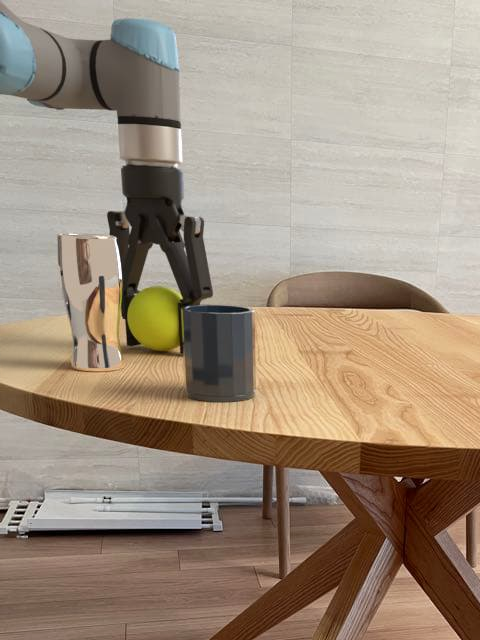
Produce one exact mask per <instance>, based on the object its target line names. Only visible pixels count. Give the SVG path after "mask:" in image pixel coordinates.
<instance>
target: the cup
mask: <svg viewBox="0 0 480 640" xmlns="http://www.w3.org/2000/svg"><path fill="white" fill-rule="evenodd" d="M181 318H182V339H183V354H182V357H183V377H184V380H183V381H184V389H185V395H186V397H187V398H190V399H193V400H196V401H202V402H212V403H213V402H214V403H232V402H243V401H245V400H246V401H247V400H250V399H253V398H255V397H256V390H257V366H256V365H257V364H256V362H257V361H256V360H257V359H256V357H257V356H256V310H255V309H254V308H251V307H247V306H240V305H233V304H232V305H228V304H200V305H191V306H185V307H182V308H181Z"/></svg>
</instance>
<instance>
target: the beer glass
mask: <svg viewBox="0 0 480 640" xmlns="http://www.w3.org/2000/svg"><path fill="white" fill-rule="evenodd" d="M56 261H57V262H56V265H57V276H58V284H59V288H60V293H61V298H62V300H63V304H64V308H65V312H66V315H67V319H68V322H69V326H70V333H71V340H72V350H71V359H70V360H71V361H70V366H71V368H72V369H73V370H77V371H82V372H113V371H118V370H123V369H124V368H125V367H126V365H125V360H124V359H125V358H124V356H123V355H124V354H123V351H122V347H121V341H120V320H121V301H122V270H121V261H120V254H119V248H118V241H117V236H111V235H109V234H98V233H97V234H96V233H64V232H63V233H56Z"/></svg>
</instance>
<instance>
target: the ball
mask: <svg viewBox="0 0 480 640" xmlns="http://www.w3.org/2000/svg"><path fill="white" fill-rule="evenodd" d="M139 291H140V292H139V293H138V294H134V295H135V296H134V298H133V299H132V301H131V302H130V305H129V308H128V313H127V320H128V325H129V328H130V330H131V332H132V334H133V336H134V337H135V338H136V339H137V340H138V341H139V342H140V343H141V346H144V347H146V348H148V349H149V350H153V351H157V352H168V351H173V350H175V349H177V348H180V339H179V318H178V303H180V300H181V299H183V298H182V296H181V293H180V292H178V291H176V290H174V289H173V288H169V287H167V286H161V285H154V286H149V287H146V288H143V289H142V290H139Z"/></svg>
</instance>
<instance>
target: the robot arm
mask: <svg viewBox="0 0 480 640" xmlns="http://www.w3.org/2000/svg"><path fill="white" fill-rule="evenodd" d="M177 44H178V43H177V37H176V34H175V31H173V29H172V28H171V27H170V26H169V25H168V24H165V23H162V22H160V21H156V20H150V19H144V18H135V17H133V18H132V17H130V18H129V17H127V18H125V17H124V18H118V19H114V21H113V22H112V23H111V28H110V38H109V39H104V40H103V39H97V40H96V39H79V38H69V37H65V36H63V35H60V34H57V33H55V32H52V31H49V30H46V29H44V28H42V27H38V26H36V25H33V24H31V23H28V22H26V21H24V20H22V19H21V18H19V17H18V16H17V15H16V14H15V13H14V12H13V11H12V10H11V9H10V8H9V7H8V6H7V5H6V4H5V3H4V2H3V1H2V0H0V95H3V96H4V95H5V96H11V97H17V98H22V99H26V100H27V102H28V103H29V104H31V105H34V106H35V107H41V108H47V109H53V110H58V111H62V110H65V109H68V110H100V111H101V110H102V111H103V110H104V111H111V112H112V111H115V112H116V116H117V128H118V129H117V130H118V149H119V159H120V160H121V161H124V163H125V165H122V167H121V168H120V177H121V191H122V195H123V196H124V197H125V198H126V206H125V209H124V210H120V211H119V210H118V211H117V210H109V211H107V213H106V218H107V219H106V220H107V224H108V230H109V234H108V235H111V236H117V241H118V248H119V254H120V261H121V270H122V301H121V312H120V316H121V318H122V320H124V322H125V323H124V325H125V335H126V336H125V339H126V346H127V347H135V346H140V345H141V346H142V344H141V343H140V342H139V341H138V340H137V339H136V338H135V337H134V336H133V334H132V332H131V330H130V328H129V325H128V320H127V313H128V308H129V305H130V302H131V301H132V299H133V298H134V296H135V295H136V294H138V293H139V292H140V291H141V290H139V289H138V288H139V284H140V281H141V277H142V274H143V271H144V268H145V264H146V260H147V257H148V254H149V251H150V249H152V248H153V245H154V244H155V245H159V248H160V250H161V251H162V252H163V253H164V254H165V256H166V259H167V262H168V264H169V266H170V270H171V272H172V275H173V277H174V280H175V282H176V285H177V288H178V290H179V294H180V295H181V296H182V298H183V299H181V300H180V303H178V318H179V339H180V346H179V354H181V355H183V339H182V318H181V308H182V307H185V306H191V305H201V302H203V301H204V300H206V299H211V298H213V296H214V290H213V285H212V279H211V274H210V268H209V263H208V262H209V261H208V257H207V252H206V251H207V250H206V246H205V241H204V240H205V239H204V230H205V219H204V218H203V217H201V216H190V215H188V214H185V212H184V209H183V206H182V202H183V200H184V198H185V185H184V182H185V181H184V172H182V169H180V168H179V165H181V164H183V145H182V144H183V143H182V123H181V95H180V94H181V92H180V91H181V90H180V89H181V87H180V73H181V68H180V65H179V63H180V62H179V54H178V45H177ZM130 227H131V229H130ZM181 232H183V236H182V233H181Z"/></svg>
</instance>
